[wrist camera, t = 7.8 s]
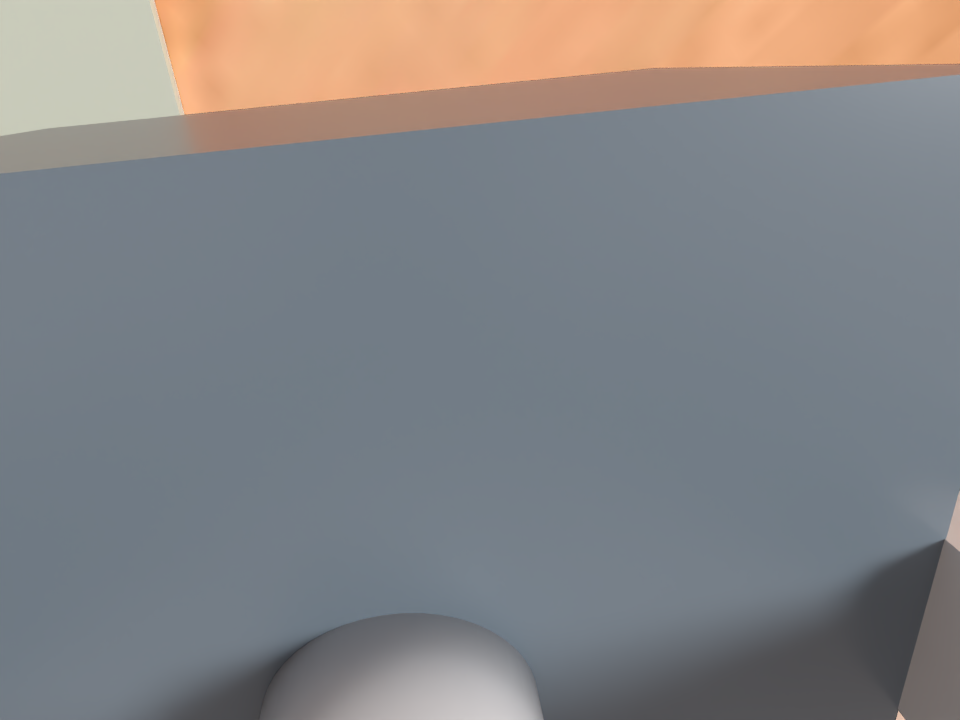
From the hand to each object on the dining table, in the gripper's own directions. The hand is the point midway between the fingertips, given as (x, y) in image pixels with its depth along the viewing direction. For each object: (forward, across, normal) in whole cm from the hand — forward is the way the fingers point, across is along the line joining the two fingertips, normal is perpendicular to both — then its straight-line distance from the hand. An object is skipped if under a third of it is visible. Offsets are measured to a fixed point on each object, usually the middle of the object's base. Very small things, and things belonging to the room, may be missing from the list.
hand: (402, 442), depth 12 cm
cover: (+3, 0, 0) cm, 3 cm away
